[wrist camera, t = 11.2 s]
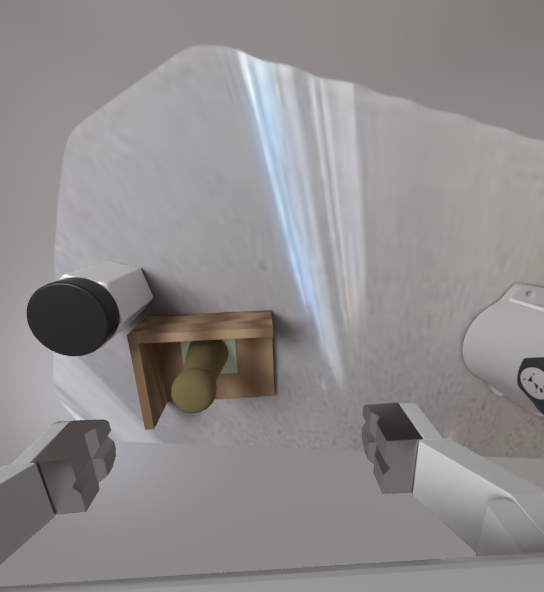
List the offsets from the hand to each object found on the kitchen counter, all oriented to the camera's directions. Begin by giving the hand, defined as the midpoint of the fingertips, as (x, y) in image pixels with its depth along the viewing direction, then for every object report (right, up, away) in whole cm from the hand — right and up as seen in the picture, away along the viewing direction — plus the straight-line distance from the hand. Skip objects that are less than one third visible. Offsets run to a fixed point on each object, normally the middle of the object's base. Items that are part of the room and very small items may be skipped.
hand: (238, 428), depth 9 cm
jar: (-20, +5, +32) cm, 38 cm away
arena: (-8, -5, +35) cm, 36 cm away
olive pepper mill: (-8, -4, +34) cm, 35 cm away
